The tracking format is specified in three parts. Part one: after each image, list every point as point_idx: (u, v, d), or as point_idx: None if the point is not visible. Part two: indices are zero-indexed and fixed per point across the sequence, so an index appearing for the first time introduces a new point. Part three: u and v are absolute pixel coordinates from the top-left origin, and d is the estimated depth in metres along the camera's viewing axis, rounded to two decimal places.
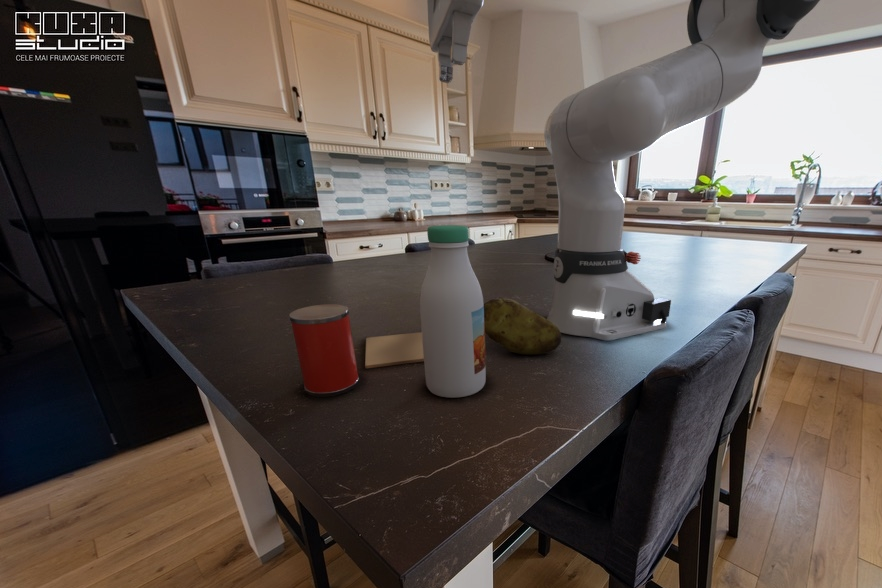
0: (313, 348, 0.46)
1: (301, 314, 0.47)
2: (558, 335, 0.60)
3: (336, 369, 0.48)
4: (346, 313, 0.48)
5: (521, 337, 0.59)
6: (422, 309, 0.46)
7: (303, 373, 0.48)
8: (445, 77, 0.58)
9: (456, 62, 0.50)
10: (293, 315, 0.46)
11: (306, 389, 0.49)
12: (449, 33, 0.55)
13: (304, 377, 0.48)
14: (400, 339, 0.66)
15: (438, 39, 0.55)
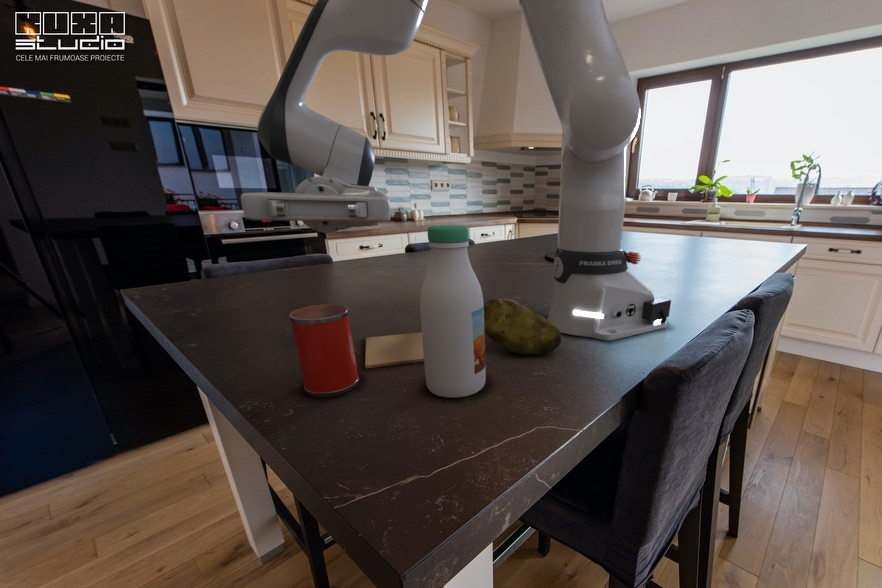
0: (313, 348, 0.46)
1: (301, 314, 0.47)
2: (558, 335, 0.60)
3: (336, 369, 0.48)
4: (346, 313, 0.48)
5: (521, 337, 0.59)
6: (422, 309, 0.46)
7: (303, 373, 0.48)
8: (348, 212, 0.56)
9: (277, 212, 0.53)
10: (293, 315, 0.46)
11: (306, 389, 0.49)
12: (340, 208, 0.60)
13: (304, 377, 0.48)
14: (400, 339, 0.66)
15: (347, 218, 0.60)
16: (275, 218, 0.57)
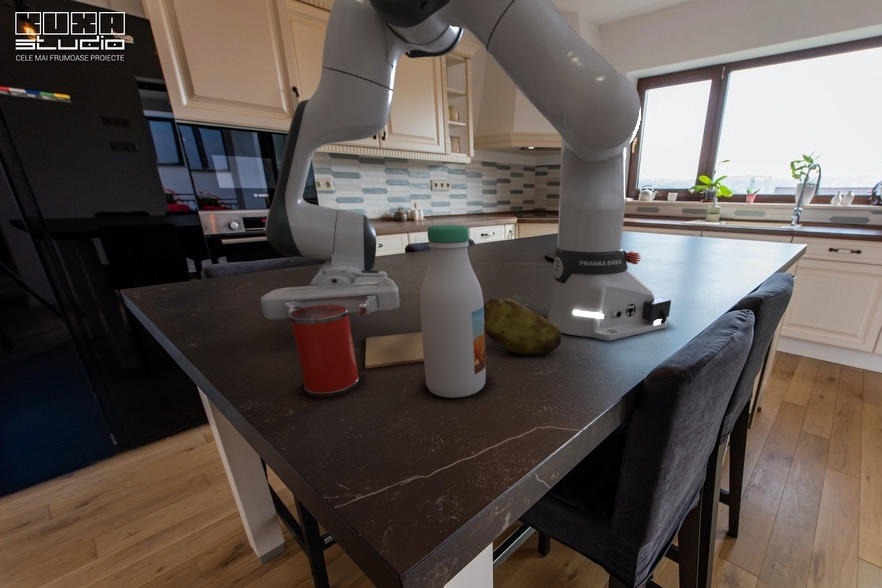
0: (313, 348, 0.46)
1: (301, 314, 0.47)
2: (558, 335, 0.60)
3: (336, 369, 0.48)
4: (346, 313, 0.48)
5: (521, 337, 0.59)
6: (422, 309, 0.46)
7: (303, 373, 0.48)
8: (359, 311, 0.59)
9: None
10: (293, 315, 0.46)
11: (306, 389, 0.49)
12: (352, 302, 0.64)
13: (304, 377, 0.48)
14: (400, 339, 0.66)
15: (359, 311, 0.64)
16: None
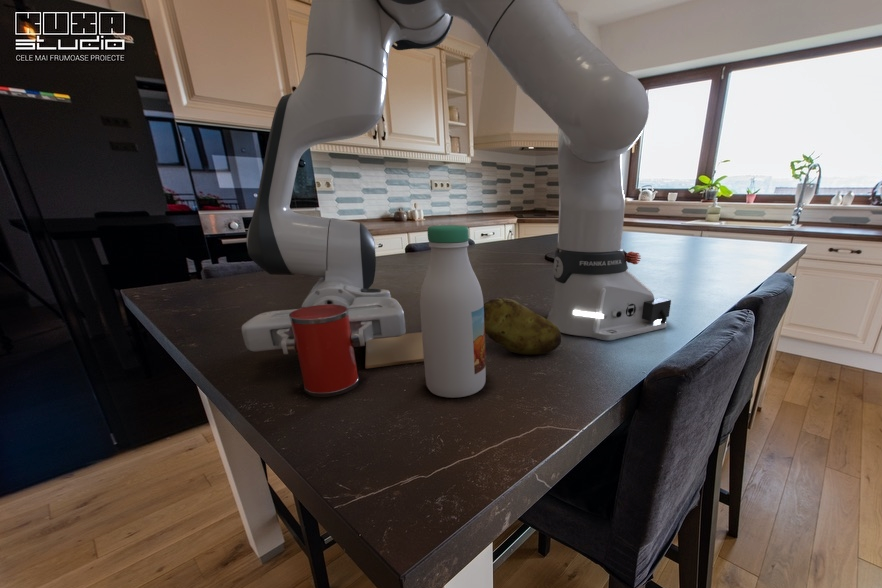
0: (313, 348, 0.46)
1: (301, 314, 0.47)
2: (558, 335, 0.60)
3: (336, 369, 0.48)
4: (346, 313, 0.48)
5: (521, 337, 0.59)
6: (422, 309, 0.46)
7: (303, 373, 0.48)
8: None
9: (288, 350, 0.47)
10: (293, 315, 0.46)
11: (306, 389, 0.49)
12: (351, 328, 0.54)
13: (304, 377, 0.48)
14: (400, 339, 0.66)
15: None
16: (279, 347, 0.51)
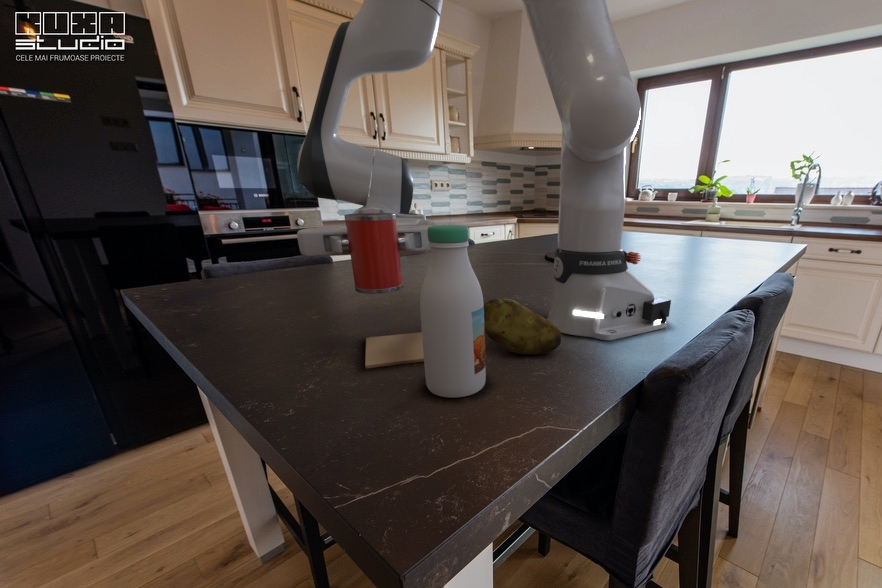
0: (367, 244, 0.51)
1: None
2: (558, 335, 0.60)
3: (386, 267, 0.52)
4: (395, 216, 0.53)
5: (521, 337, 0.59)
6: (422, 309, 0.46)
7: (355, 271, 0.53)
8: None
9: (342, 249, 0.52)
10: (348, 215, 0.51)
11: (357, 287, 0.54)
12: None
13: (356, 275, 0.53)
14: (400, 339, 0.66)
15: None
16: (331, 254, 0.56)
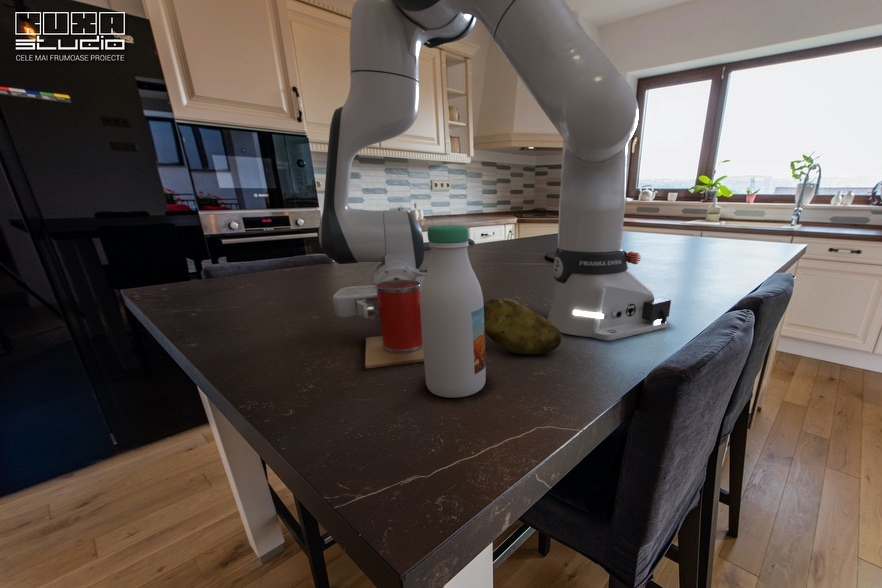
0: (395, 313, 0.58)
1: (385, 286, 0.58)
2: (558, 335, 0.60)
3: (411, 330, 0.60)
4: (419, 285, 0.60)
5: (521, 337, 0.59)
6: (422, 309, 0.46)
7: (384, 334, 0.60)
8: None
9: (368, 315, 0.59)
10: (379, 286, 0.58)
11: (386, 347, 0.61)
12: None
13: (385, 337, 0.60)
14: None
15: None
16: None
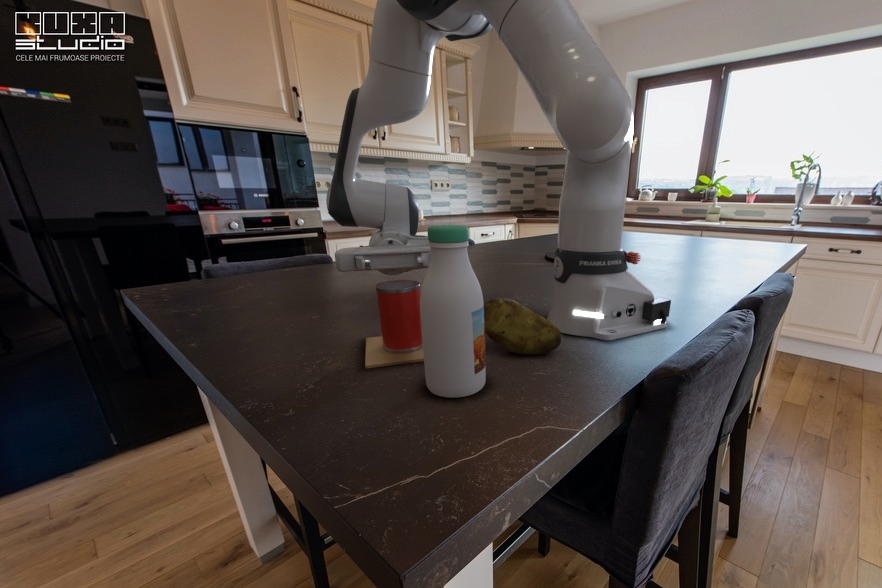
0: (395, 313, 0.58)
1: (385, 286, 0.58)
2: (558, 335, 0.60)
3: (411, 330, 0.60)
4: (419, 285, 0.60)
5: (521, 337, 0.59)
6: (422, 309, 0.46)
7: (384, 334, 0.60)
8: (417, 263, 0.71)
9: (365, 266, 0.68)
10: (379, 286, 0.58)
11: (386, 347, 0.61)
12: (408, 258, 0.75)
13: (385, 337, 0.60)
14: None
15: (413, 266, 0.75)
16: (360, 269, 0.73)
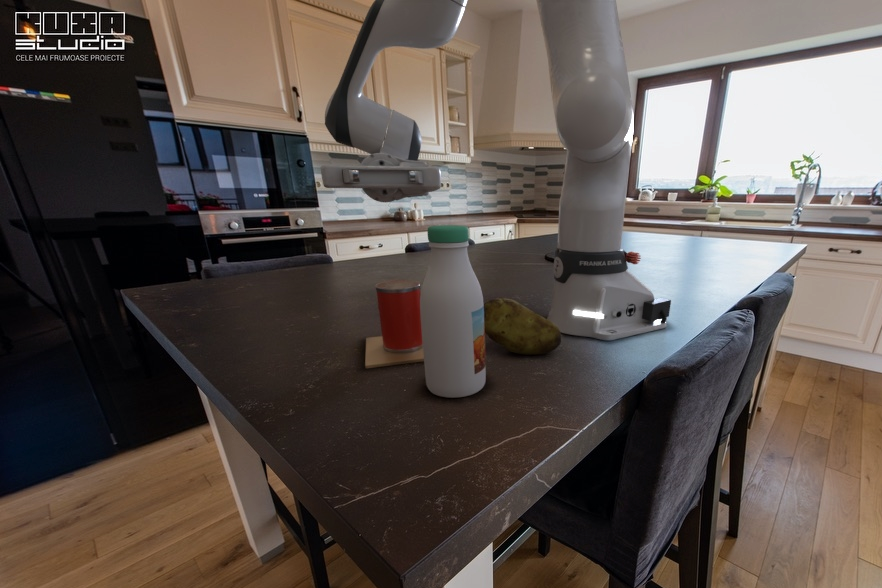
0: (395, 313, 0.58)
1: (385, 286, 0.58)
2: (558, 335, 0.60)
3: (411, 330, 0.60)
4: (419, 285, 0.60)
5: (521, 337, 0.59)
6: (422, 309, 0.46)
7: (384, 334, 0.60)
8: (409, 177, 0.66)
9: (353, 177, 0.63)
10: (379, 286, 0.58)
11: (386, 347, 0.61)
12: (400, 177, 0.70)
13: (385, 337, 0.60)
14: None
15: (406, 185, 0.70)
16: (348, 185, 0.68)
